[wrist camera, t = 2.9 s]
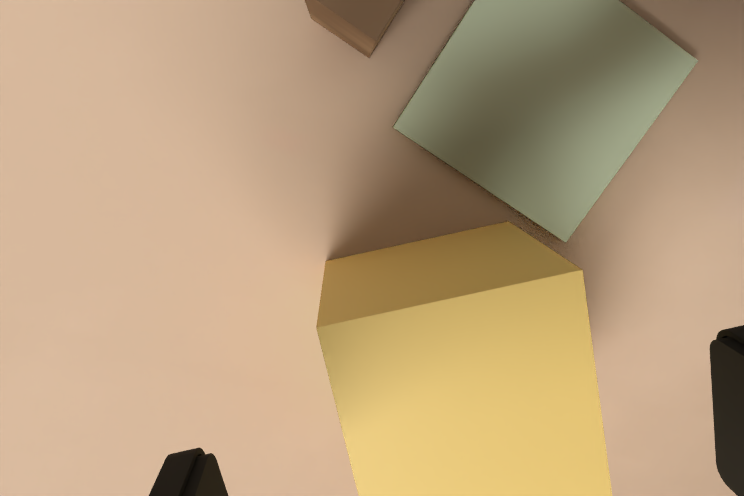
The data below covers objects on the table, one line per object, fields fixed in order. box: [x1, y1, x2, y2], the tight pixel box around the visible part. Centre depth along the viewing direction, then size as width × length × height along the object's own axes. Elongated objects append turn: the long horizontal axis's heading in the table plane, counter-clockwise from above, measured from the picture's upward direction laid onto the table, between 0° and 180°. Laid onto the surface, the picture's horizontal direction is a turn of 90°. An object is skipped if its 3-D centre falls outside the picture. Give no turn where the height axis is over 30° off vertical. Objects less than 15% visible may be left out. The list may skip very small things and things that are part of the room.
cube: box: [316, 221, 612, 496], centre depth 16 cm, size 6×6×6 cm
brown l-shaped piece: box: [305, 0, 698, 242], centre depth 15 cm, size 18×12×4 cm
